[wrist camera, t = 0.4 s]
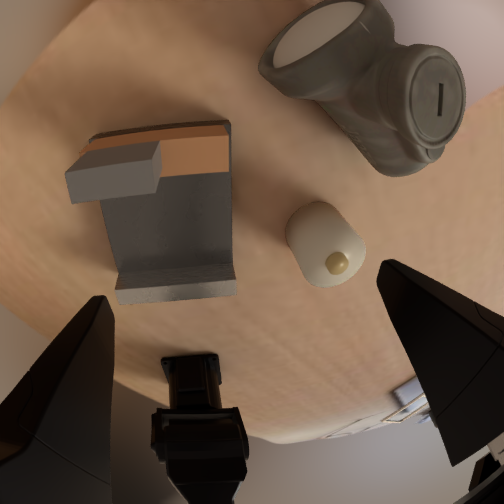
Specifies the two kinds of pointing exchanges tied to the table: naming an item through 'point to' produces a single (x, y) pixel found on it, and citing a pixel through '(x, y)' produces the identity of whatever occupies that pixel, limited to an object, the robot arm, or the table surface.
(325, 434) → the table surface
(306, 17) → the pipe fitting
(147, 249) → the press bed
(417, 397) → the photo frame
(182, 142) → the tan and grey slab
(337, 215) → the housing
